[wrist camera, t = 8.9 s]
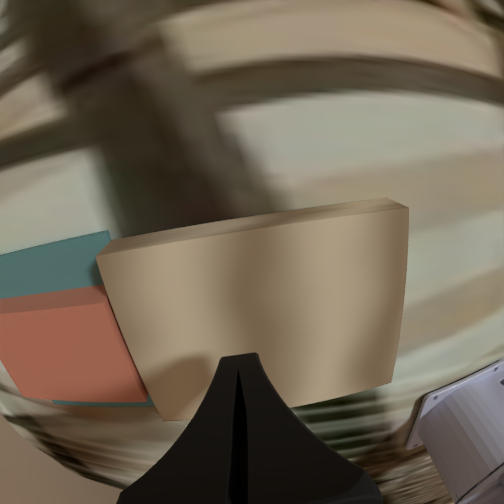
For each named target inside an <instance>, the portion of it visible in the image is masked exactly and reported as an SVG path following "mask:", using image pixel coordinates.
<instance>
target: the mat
mask: <svg viewBox="0 0 504 504" xmlns="http://www.w3.org/2000/svg"><path fill="white" fill-rule="evenodd" d="M110 241H111V238H110V235H109V231H108V230H107V231H102V232H97V233H93V234H88V235H83V236H79V237H74V238H70V239H65V240H61V241H56V242H52V243H48V244H44V245H39V246H35V247H31V248H27V249H23V250H19V251H15V252H11V253H7V254H3V255H0V299H3V298H11V297H18V296H25V295H32V294H39V293H47V292H54V291H61V290H68V289H75V288H82V287H89V286H96V285H102V284H104V283H103V280H102V276H101V273H100V270H99V267H98V264H97V261H96V257H95V256H96V255H97V254H98V253H99V252H100V251H101V250H102V249H103V248H104V247H105V246H106V245H107V244H108V243H109V242H110ZM52 401H53V403H54V404H62V405H77V406H100V407H147V406H155V405H154V403H153V401H152V399H151V397H150V395H149V393H148V397H147V401H146V402H81V401H63V400H52Z"/></svg>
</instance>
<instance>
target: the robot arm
mask: <svg viewBox="0 0 504 504" xmlns="http://www.w3.org/2000/svg"><path fill="white" fill-rule="evenodd" d="M423 444H424V446H425V448H426V449H427V451H428V453H429V455H430V457H431V459H432V461H433V462H434V464H435V466H436V468H437V470H438V472H439V474H440V476H441V478H442V480H443V481H444V483H445V485H446V487H447V489H448V491H449V493H450V495H451V497H452V499H453V501H454V503H455V504H504V359H502V360H500V361H498V362H496V363H494V364H492V365H490V366H488V367H487V368H485V369H483V370H481V371H479V372H476V373H474V374H472V375H470V376H468V377H466V378H464V379H462V380H459V381H457V382H455V383H453V384H450V385H448V386H446V387H443V388H441V389H439V390H436V391H434V392H431V393H429V394H427V395H426V396H425V397H424V398H423V401H422V404H421V407H420V410H419V413H418V415H417V418H416V421H415V423H414V426H413V429H412V431H411V434H410V436H409V439H408V441H407V444H406V446H405V448H406V450H411V449H413V448H416V447H418V446H421V445H423ZM382 503H383V496H382V494H381V492H380V490H379V488H378V486H377V485H376V483H375V482H374V480H373V479H372V478H371V477H370V475H369V474H368V473H367V472H366V470H365V469H363V468H361V467H359V466H358V465H356V464H354V463H353V462H351V461H349V460H348V459H346V458H345V457H343V456H342V455H340V454H339V453H337V452H336V451H335V450H333V449H332V448H331V447H329V446H328V445H327V444H326V443H324V442H323V441H322V440H321V439H320V438H318V437H317V436H316V435H315V434H314V433H313V432H311V431H310V430H309V429H308V428H307V427H306V426H305V425H304V424H303V423H302V422H301V421H300V420H299V419H298V417H297V416H296V415H295V414H294V413H293V412H292V411H291V410H290V408H289V407H288V406H287V405H286V403H285V402H284V401H283V399H282V398H281V397H280V395H279V394H278V392H277V391H276V389H275V388H274V386H273V385H272V383H271V382H270V380H269V378H268V376H267V375H266V373H265V371H264V369H263V366H262V364H261V362H260V358H259V354H257V353H256V352H253V353H246V354H239V355H232V356H225V357H221V359H220V360H219V363H218V366H217V369H216V372H215V375H214V377H213V379H212V382H211V384H210V386H209V388H208V390H207V393H206V395H205V397H204V399H203V401H202V402H201V404H200V406H199V408H198V409H197V411H196V413H195V415H194V416H193V418H192V420H191V421H190V423H189V424H188V426H187V427H186V429H185V430H184V431H183V433H182V434H181V435H180V437H179V438H178V439H177V441H176V442H175V443H174V444H173V445H172V447H171V448H170V449H169V450H168V451H167V452H166V454H165V455H164V456H163V457H162V458H161V459H160V460H159V461H158V462H157V463H156V464H155V465H154V466H153V467H152V468H150V469H149V470H148V471H147V472H146V473H145V474H144V475H143V476H142V477H140V478H139V479H138V480H137V481H135V482H134V483H133V484H131V485H130V486H129V487H127V488H126V489H125V490H123V491H122V492H121V493H120V495H119V498H118V501H117V503H116V504H382Z"/></svg>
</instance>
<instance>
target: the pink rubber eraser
mask: <svg viewBox="0 0 504 504" xmlns="http://www.w3.org/2000/svg"><path fill="white" fill-rule="evenodd" d="M0 360H1V361H2V363H3V365H4V367H5V368H6V370H7V372H8V373H9V375H10V377H11V378H12V380H13V381H14V383H15V384H16V386H17V387H18V389H19V391H20V392H21V394H22V395H23V396H24V397H29V398H39V399H50V400H63V401H81V402H146V401H147V397H148V391H147V388H146V386H145V384H144V382H143V380H142V378H141V376H140V374H139V371H138V369H137V367H136V365H135V362H134V360H133V358H132V356H131V353H130V351H129V349H128V346H127V344H126V341H125V339H124V337H123V334H122V332H121V329H120V327H119V324H118V321H117V319H116V316H115V314H114V311H113V308H112V305H111V303H110V300H109V297H108V294H107V291H106V288H105V285H104V284H102V285H96V286H89V287H82V288H75V289H68V290H61V291H54V292H47V293H39V294H32V295H25V296H18V297H11V298H3V299H0Z"/></svg>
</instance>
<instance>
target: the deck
mask: <svg viewBox="0 0 504 504" xmlns="http://www.w3.org/2000/svg"><path fill="white" fill-rule="evenodd" d="M408 231H409V208H408V207H406V206H404V205H402V204H400V203H397V202H395V201H393V200H390V199H388V198H384V199H375V200H367V201H359V202H351V203H343V204H335V205H327V206H320V207H312V208H305V209H298V210H291V211H284V212H277V213H270V214H263V215H257V216H250V217H243V218H237V219H231V220H224V221H218V222H212V223H206V224H200V225H194V226H188V227H182V228H176V229H171V230H165V231H159V232H154V233H148V234H143V235H137V236H132V237H127V238H122V239H116V240H111V241H110V242H109V243H108V244H107V245H106V246H105V247H104V248H103V249H102V250H101V251H100V252H99V253H98V254H97V255H96V256H95V257H96V261H97V264H98V267H99V270H100V273H101V276H102V280H103V283H104V285H105V288H106V291H107V294H108V297H109V300H110V303H111V305H112V308H113V311H114V314H115V316H116V319H117V321H118V324H119V327H120V329H121V332H122V334H123V337H124V339H125V341H126V344H127V346H128V349H129V351H130V353H131V356H132V358H133V360H134V362H135V365H136V367H137V369H138V371H139V374H140V376H141V378H142V380H143V382H144V384H145V386H146V388H147V391H148V393H149V395H150V397H151V399H152V401H153V403H154V405H155V407H156V409H157V410H158V412H159V414H160V416H161V418H162V420H163V421H180V420H192V418H193V416H194V415H195V413H196V411H197V409H198V408H199V406H200V404H201V402H202V401H203V399H204V397H205V395H206V393H207V390H208V388H209V386H210V384H211V382H212V379H213V377H214V375H215V372H216V369H217V366H218V363H219V360H220V359H221V357H225V356H232V355H239V354H246V353H253V352H256V353H257V354H259V358H260V362H261V364H262V366H263V369H264V371H265V373H266V375H267V376H268V378H269V380H270V382H271V383H272V385H273V386H274V388H275V389H276V391H277V392H278V394H279V395H280V397H281V398H282V399H283V401H284V402H285V403H286V405H287V406H288V407H289V408H290V407H296V406H301V405H306V404H311V403H315V402H320V401H325V400H329V399H333V398H337V397H341V396H345V395H349V394H353V393H357V392H361V391H364V390H368V389H371V388H375V387H378V386H382V385H385V384H388V383H391V381H392V376H393V371H394V366H395V360H396V354H397V348H398V342H399V335H400V328H401V321H402V313H403V304H404V295H405V284H406V271H407V255H408Z"/></svg>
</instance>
